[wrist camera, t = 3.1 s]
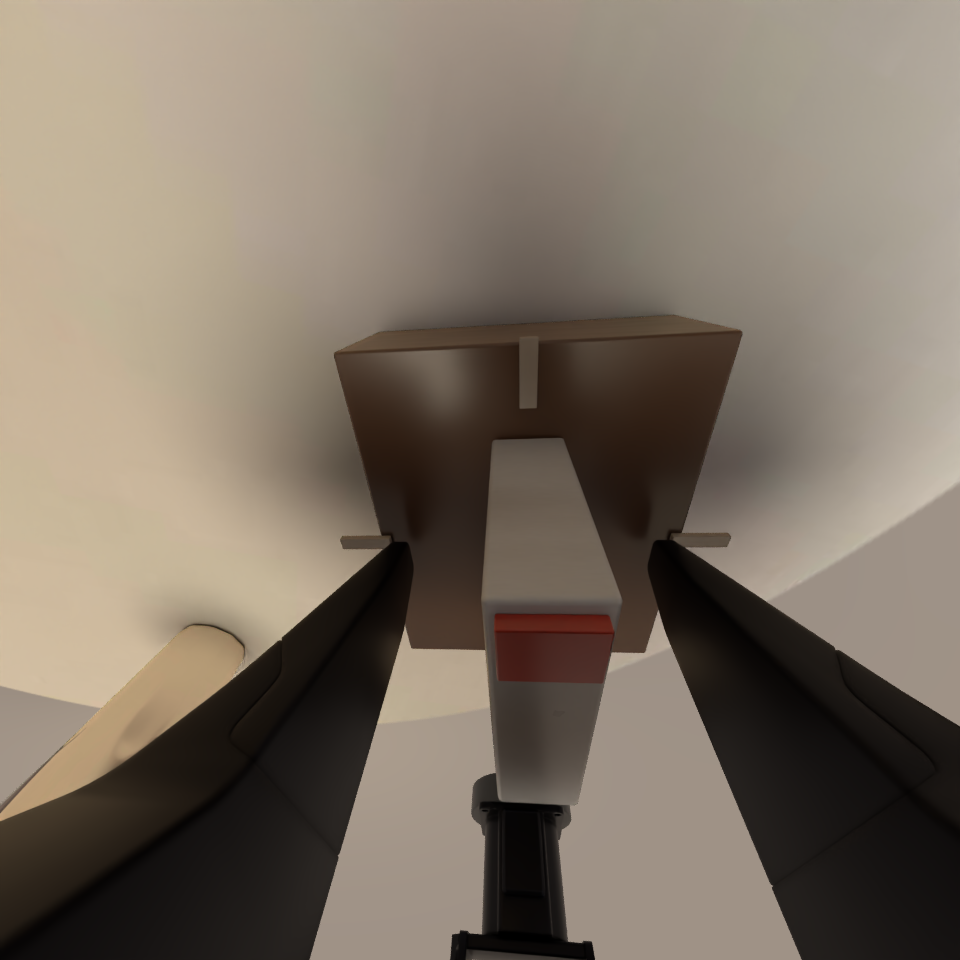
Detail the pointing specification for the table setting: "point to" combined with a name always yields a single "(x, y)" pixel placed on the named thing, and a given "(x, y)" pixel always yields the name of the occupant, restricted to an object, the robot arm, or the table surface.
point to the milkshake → (135, 715)
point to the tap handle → (543, 621)
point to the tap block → (532, 415)
